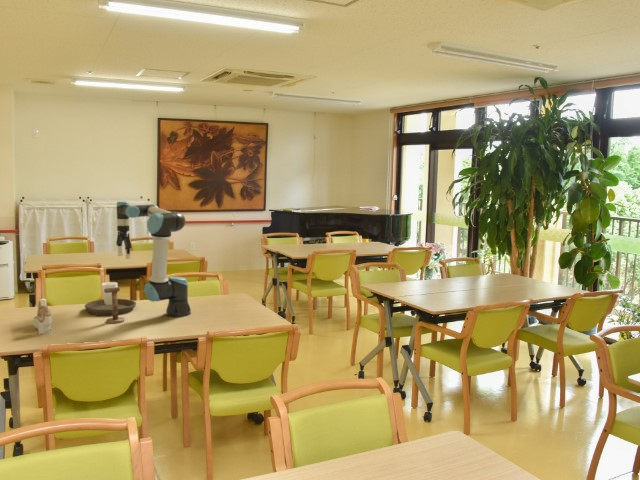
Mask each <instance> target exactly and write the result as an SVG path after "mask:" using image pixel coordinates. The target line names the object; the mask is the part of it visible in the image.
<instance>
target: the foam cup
mask: <svg viewBox="0 0 640 480" xmlns="http://www.w3.org/2000/svg"><path fill="white" fill-rule="evenodd" d="M115 287H119V286H118V282H116V281H105V282H103V283H101V290H102V295H103V299H104V302H105V304H106V305H112V292H109V293H105V292H104V289H107V288H115Z"/></svg>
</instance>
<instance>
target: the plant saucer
mask: <svg viewBox="0 0 640 480" xmlns="http://www.w3.org/2000/svg"><path fill="white" fill-rule="evenodd" d="M117 299H118V315H121V314H125V313H129V312H131V311H133V309H134V308H135V307H136V305H137V302H136V301H135V300H132V299H126V298H117ZM84 308H85V309H86V310H87V311H88V313H90V314H92V315H96V316H97V315H98V316H113V312H112V305H106V304H105V302H104V298H103V299H97V300H93V301H89V302H87V303H85V305H84Z"/></svg>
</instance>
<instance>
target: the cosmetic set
mask: <svg viewBox="0 0 640 480" xmlns="http://www.w3.org/2000/svg"><path fill="white" fill-rule="evenodd" d="M32 322H33V323H32V325H33V328H35V329H37V332H38V334H40V335H46V334H50V333H51V332H52V315H51V309H50V308H49V307H48V305H47V299H46V298H41V299H38V305H37V312H36V316H33V318H32Z"/></svg>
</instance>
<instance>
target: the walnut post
mask: <svg viewBox="0 0 640 480" xmlns="http://www.w3.org/2000/svg"><path fill="white" fill-rule="evenodd" d="M104 292H105V293H109V292H112V312H113V315H112V317H109V318H106V321H105V322H106V323H107V324H109V325H110V324H116V325H117V324H122V323H123V322H125V318H124V317H122V316H121V317H120V316H119V314H118V299H119V298H118V292H120V287H119V286H118V287H115V288H107V289H104Z"/></svg>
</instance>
